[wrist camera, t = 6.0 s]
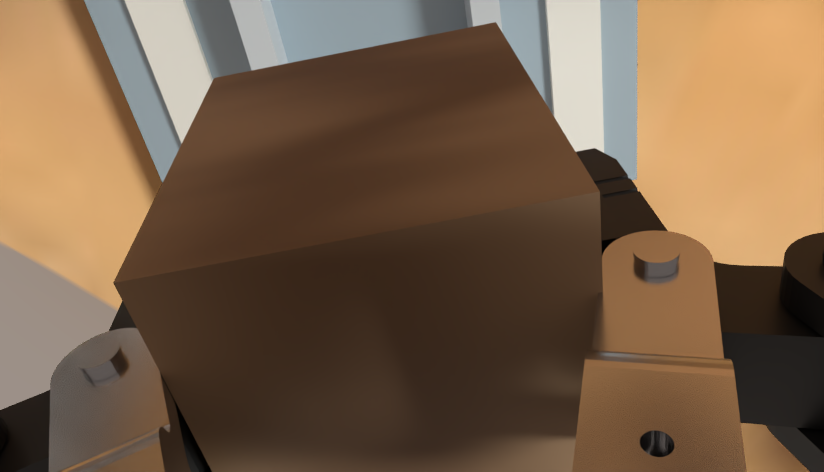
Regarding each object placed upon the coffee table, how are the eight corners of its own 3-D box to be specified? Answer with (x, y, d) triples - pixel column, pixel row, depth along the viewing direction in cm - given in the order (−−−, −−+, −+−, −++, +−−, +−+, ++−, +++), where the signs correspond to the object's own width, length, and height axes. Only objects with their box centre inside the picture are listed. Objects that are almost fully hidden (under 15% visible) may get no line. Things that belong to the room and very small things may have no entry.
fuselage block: (495, 21, 12) (600, 191, 7) (521, 255, 15) (609, 499, 10) (213, 77, 12) (113, 283, 7) (291, 298, 15) (257, 559, 10)
